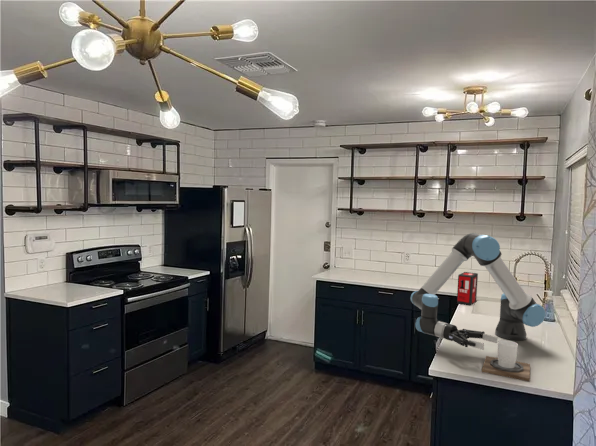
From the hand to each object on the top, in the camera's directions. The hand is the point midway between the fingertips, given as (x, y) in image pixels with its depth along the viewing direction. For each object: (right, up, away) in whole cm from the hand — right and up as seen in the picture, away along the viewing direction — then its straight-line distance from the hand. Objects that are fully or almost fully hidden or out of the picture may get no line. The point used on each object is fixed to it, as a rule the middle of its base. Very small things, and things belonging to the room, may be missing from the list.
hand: (490, 343), depth 198 cm
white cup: (+5, -8, -5) cm, 11 cm away
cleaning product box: (+32, -2, +114) cm, 119 cm away
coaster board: (+5, -10, -5) cm, 12 cm away
